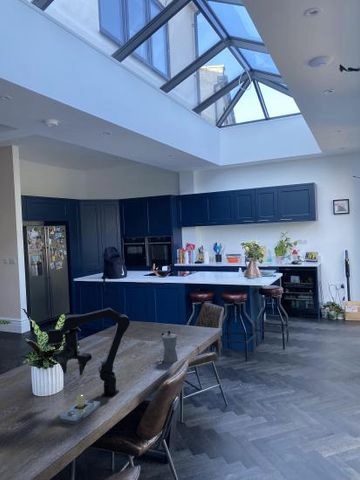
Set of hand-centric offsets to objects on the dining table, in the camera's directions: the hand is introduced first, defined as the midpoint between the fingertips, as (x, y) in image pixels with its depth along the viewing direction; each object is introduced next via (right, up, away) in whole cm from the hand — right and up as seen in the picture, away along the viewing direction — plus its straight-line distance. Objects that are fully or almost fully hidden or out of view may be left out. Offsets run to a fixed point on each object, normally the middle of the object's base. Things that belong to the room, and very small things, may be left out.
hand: (72, 374), depth 179 cm
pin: (+8, -12, -14) cm, 20 cm away
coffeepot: (+45, -9, +50) cm, 68 cm away
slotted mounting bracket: (+8, -12, -14) cm, 20 cm away
